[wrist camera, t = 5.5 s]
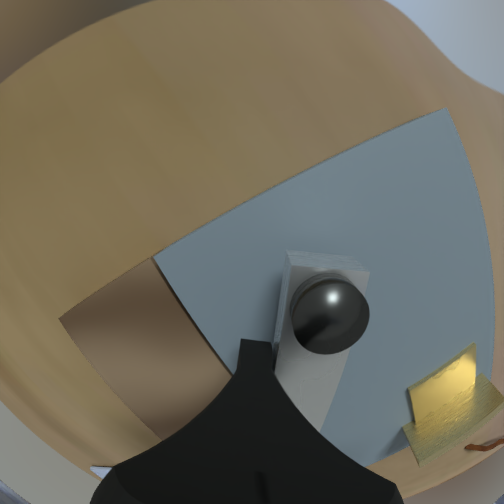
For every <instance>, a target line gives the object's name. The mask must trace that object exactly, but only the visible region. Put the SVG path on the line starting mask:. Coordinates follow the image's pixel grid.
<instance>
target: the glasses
mask: <svg viewBox="0 0 504 504" xmlns="http://www.w3.org/2000/svg"><path fill="white" fill-rule="evenodd" d="M503 443H504V439H500V440H498V441H497V442H495V443H494V444H491V445H489V446H480V445H473V444H470V445H467V446H466V447H465V449H471V450H478V451H488V450H491V449H493V448H495V447H496V446H498V445H500V444H503Z"/></svg>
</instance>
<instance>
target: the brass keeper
mask: <svg viewBox="0 0 504 504" xmlns="http://www.w3.org/2000/svg"><path fill="white" fill-rule="evenodd" d="M475 373H476V344H475V343H474V342H472V343H471V344H470V345H469V346H467V347H466V348H465V349H464V350H462V351H461V352H460V353H458V354H457V355H456V356H454V357H453V358H452V359H450V360H449V361H447V362H446V363H445V364H443V365H442V366H440V367H439V368H437V369H436V370H435V371H433V372H432V373H430V374H428V375H427V376H425V377H424V378H422V379H421V380H419V381H417V382H416V383H414V384H413V385H411V386H409V387H408V393H409V397H410V402H411V407H412V412H413V417H414V420H413V421H411V422H409V423H407V424H406V425H404V426H402V428H403V432H404V435H405V437H406V439H407V441H408V443H409V445H410V447H411V450H412V452H413V454H414V456H415V458H416V461H417V463H418V465H419V468H420V467H422V466H424V465H426V464H428V463H429V462H431V461H433V460H434V459H436V458H438V457H439V456H441V455H443V454H444V453H446V452H447V451H449V450H450V449H452V448H453V447H455V446H456V445H458V444H459V443H461V442H462V441H464V440H465V439H466V438H468V437H469V436H471V435H472V434H473V433H475V432H476V431H477V430H478V429H480V428H481V427H482V426H483V425H485V424H486V423H487V422H488V421H490V420H491V419H492V418H493V417H494V416H495V415H497V414H498V413H499V412H500V411H501V410H502V409H503V408H504V396H503V395H502V394H501V393H500V392H499V391H498V390H497V389H496V387H495V386H494V385H493V384H492V383H491V382H490V381H489V380H488V379H487V378H486V376H485V375H484V374H483V373H480V374H479V375H478V376H477V377H476V378H475Z"/></svg>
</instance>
